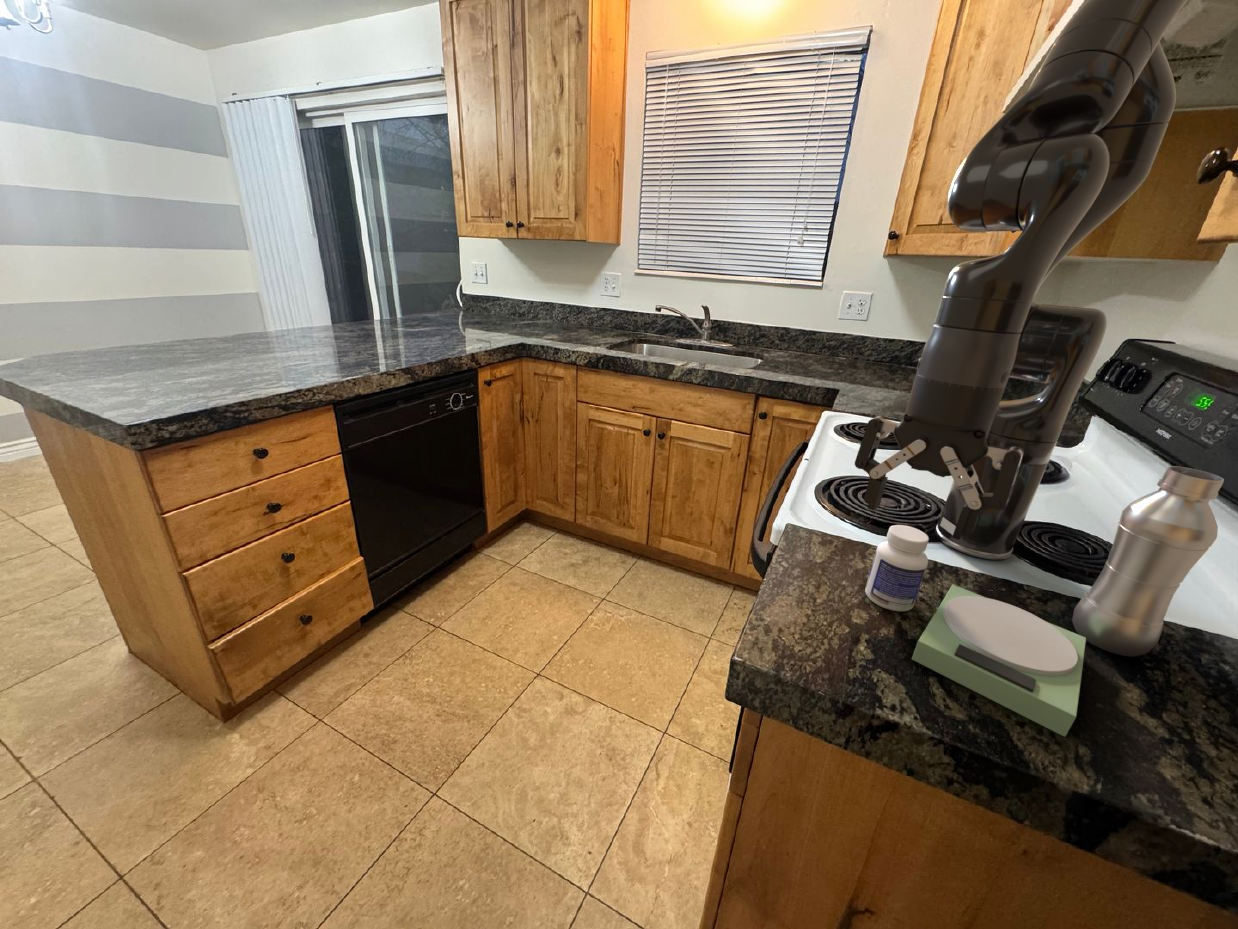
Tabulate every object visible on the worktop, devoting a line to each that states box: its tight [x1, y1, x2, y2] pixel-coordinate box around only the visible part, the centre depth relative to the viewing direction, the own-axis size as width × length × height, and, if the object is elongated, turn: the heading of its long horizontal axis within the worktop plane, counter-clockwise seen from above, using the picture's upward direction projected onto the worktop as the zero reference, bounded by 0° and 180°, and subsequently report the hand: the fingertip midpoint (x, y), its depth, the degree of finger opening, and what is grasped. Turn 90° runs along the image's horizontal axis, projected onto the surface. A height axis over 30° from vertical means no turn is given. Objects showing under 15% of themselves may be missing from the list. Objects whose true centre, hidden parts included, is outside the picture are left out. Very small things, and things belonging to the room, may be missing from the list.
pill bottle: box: [864, 524, 930, 612], centre depth 57 cm, size 5×5×9 cm
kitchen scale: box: [911, 584, 1087, 738], centre depth 50 cm, size 14×12×3 cm
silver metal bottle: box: [1071, 465, 1225, 657], centre depth 50 cm, size 6×7×20 cm
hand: (913, 521), depth 55 cm, fingers open, 8 cm apart
